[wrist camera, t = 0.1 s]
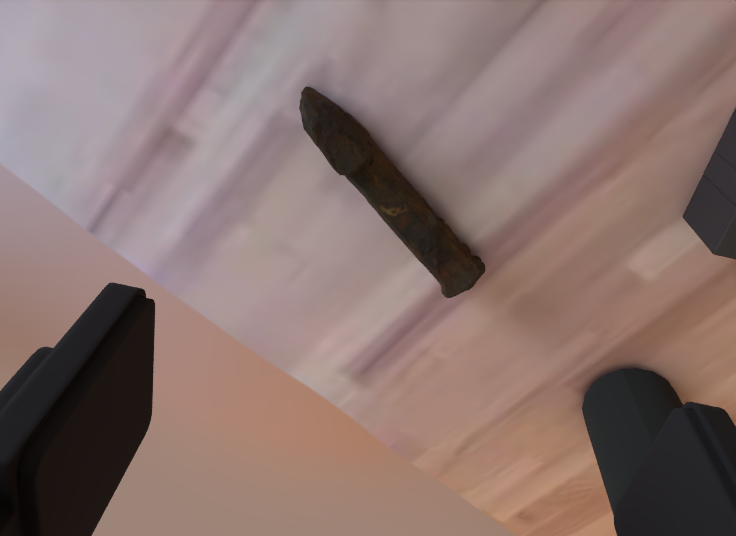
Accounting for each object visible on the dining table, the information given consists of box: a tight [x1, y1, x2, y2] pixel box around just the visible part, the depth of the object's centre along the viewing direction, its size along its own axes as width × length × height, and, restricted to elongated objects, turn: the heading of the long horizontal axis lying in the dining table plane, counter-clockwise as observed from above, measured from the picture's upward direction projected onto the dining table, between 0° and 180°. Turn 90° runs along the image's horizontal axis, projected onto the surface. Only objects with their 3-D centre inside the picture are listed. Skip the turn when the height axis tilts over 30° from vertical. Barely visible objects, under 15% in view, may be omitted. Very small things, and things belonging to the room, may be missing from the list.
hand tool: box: [299, 87, 485, 298], centre depth 46 cm, size 19×4×5 cm, turn 38°
